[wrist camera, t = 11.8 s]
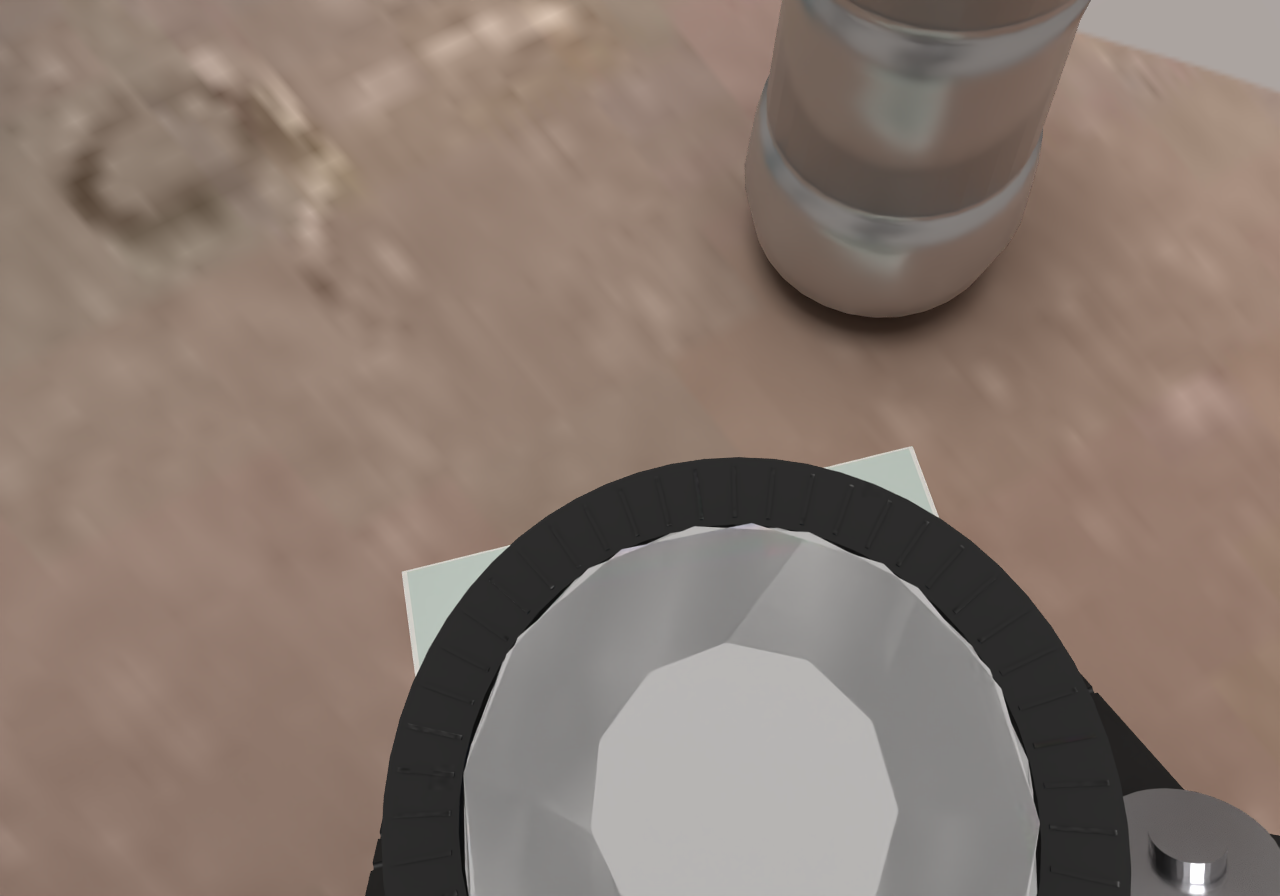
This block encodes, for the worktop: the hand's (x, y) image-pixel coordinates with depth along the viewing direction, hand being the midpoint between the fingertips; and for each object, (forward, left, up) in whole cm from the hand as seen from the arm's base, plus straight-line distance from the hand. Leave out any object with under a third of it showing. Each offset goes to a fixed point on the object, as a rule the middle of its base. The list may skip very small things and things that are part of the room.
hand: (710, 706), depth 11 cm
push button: (0, -2, -5) cm, 5 cm away
